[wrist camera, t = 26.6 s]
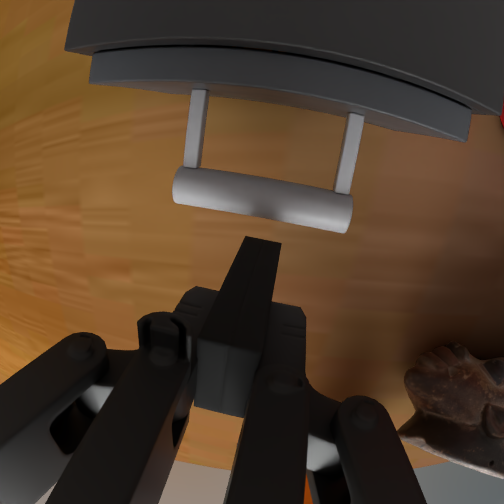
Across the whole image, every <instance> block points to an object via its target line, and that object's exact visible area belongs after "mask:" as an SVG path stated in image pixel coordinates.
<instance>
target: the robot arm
mask: <svg viewBox="0 0 504 504" xmlns="http://www.w3.org/2000/svg"><path fill="white" fill-rule="evenodd" d="M281 244H282V243H278V242H273V241H268V240H263V239H258V238H253V237H248V236H245V238H244V240H243V242H242V245H241V247H240V249H239V251H238V253H237V255H236V257H235V259H234V261H233V263H232V265H231V268H230V270H229V272H228V274H227V276H226V278H225V280H224V282H223V284H222V287H221V289H220V291H216V290H211V289H207V288H203V287H198V286H195V287H194V288H192V289H190V290H189V291H187V292H185V294H184V295H183V297H182V299H181V300H180V303H178V305H177V306H176V308H175V311H173V313H170V312H153V313H150V314H148V315H145V316H143V317H142V318H141V319H140V320H138V321H137V326H138V338H139V349H138V350H113V349H107V347H106V344H105V341H104V340H103V339H101V338H100V337H99V336H98V335H95V334H93V333H88V332H79V333H74V334H71V335H69V336H67V337H65V338H64V339H62V340H61V341H60V342H58V343H57V344H55V345H54V346H53V347H51V348H50V349H48V350H47V351H46V352H44V353H43V354H41V355H40V356H39V357H37V358H36V359H35V360H33V361H32V362H30V363H29V364H28V365H26V366H25V367H24V368H22V369H21V370H19V371H18V372H17V373H15V374H14V375H13V376H11V377H10V378H9V379H7V380H6V381H5V382H3V383H2V384H1V385H0V504H35V503H36V502H37V501H38V500H39V499H40V498H41V497H42V496H43V495H44V494H45V493H46V492H47V491H48V490H49V489H50V488H51V487H52V486H53V485H54V484H55V483H56V482H57V481H58V482H57V484H56V485H55V487H54V489H53V491H52V492H51V494H50V496H49V498H48V500H47V501H46V503H45V504H158V503H159V500H160V498H161V495H162V492H163V489H164V487H165V484H166V481H167V479H168V475H169V473H170V470H171V468H172V465H173V463H174V460H175V457H176V454H177V452H178V449H179V446H180V444H181V441H182V438H183V436H184V433H185V430H186V427H187V425H188V422H189V413H190V408H191V405H192V402H193V400H194V406H196V407H200V408H203V409H207V410H211V411H215V412H219V413H223V414H228V415H232V416H237V417H241V418H244V420H243V425H242V428H241V432H240V436H239V440H238V443H237V449H236V453H235V457H234V462H233V466H232V470H231V474H230V478H229V482H228V486H227V490H226V494H225V498H224V503H223V504H304V494H305V482H306V474H307V479H308V484H309V488H310V493H311V497H312V502H313V504H427V503H426V500H425V498H424V495H423V492H422V490H421V488H420V485H419V483H418V480H417V478H416V475H415V473H414V470H413V468H412V466H411V463H410V461H409V459H408V456H407V454H406V452H405V449H404V447H403V445H402V442H401V440H400V438H399V436H398V433H397V431H396V429H395V427H394V424H393V422H392V420H391V418H390V416H389V413H388V412H387V410H386V409H385V408H384V406H383V405H382V404H380V403H379V402H378V401H376V400H375V399H372V398H370V397H367V396H357V395H356V396H352V397H349V398H347V399H346V400H344V401H343V402H342V403H341V402H338V401H335V400H333V399H331V398H328V397H326V396H324V395H322V394H320V393H319V392H317V391H316V390H315V389H314V388H313V387H312V386H311V385H310V384H309V381H308V379H307V377H306V373H305V362H306V316H305V314H304V313H303V311H302V309H301V308H300V307H297V306H291V305H286V304H282V303H277V302H272V295H273V290H274V284H275V279H276V273H277V267H278V261H279V255H280V250H281Z"/></svg>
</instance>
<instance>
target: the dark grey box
mask: <svg viewBox="0 0 504 504" xmlns="http://www.w3.org/2000/svg"><path fill="white" fill-rule="evenodd" d="M181 45H222V46H237V47H249V48H259V49H268V50H276V51H283V52H290V53H296V54H302V55H308V56H313V57H319V58H324V59H328V60H333V61H338V62H342V63H346V64H350V65H354V66H358V67H362V68H366V69H369V70H373V71H377V72H380V73H383V74H387V75H390V76H393V77H396V78H399V80H400V81H403V82H406V83H409V84H412V85H415V86H417V87H420V88H423V89H426V90H428V91H431V92H433V93H436V94H438V95H441V96H443V97H446V98H448V99H451V100H453V101H455V102H458V103H460V104H462V105H464V106H466V107H469V108H470V109H471V110H472V114H481V115H486V114H487V115H497V116H501V115H502V110H503V101H504V0H75V3H74V6H73V10H72V15H71V19H70V23H69V28H68V33H67V38H66V43H65V51H68V52H74V53H80V54H83V55H89V56H93V53H95V52H101V51H109V50H119V49H129V48H143V47H165V46H181Z"/></svg>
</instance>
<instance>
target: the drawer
mask: <svg viewBox="0 0 504 504" xmlns="http://www.w3.org/2000/svg"><path fill="white" fill-rule="evenodd" d="M89 83H90V84H96V85H108V86H118V87H127V88H136V89H143V90H151V91H157V92H164V93H170V94H187V95H191V101H190V108H189V117H188V125H187V134H186V143H185V153H184V163H183V166H180V167H179V168H178V170H177V172H176V174H175V177H174V181H173V188H172V194H173V200H174V202H176V203H178V204H185V205H191V206H197V207H203V208H209V209H215V210H221V211H227V212H233V213H238V214H244V215H250V216H255V217H261V218H266V219H272V220H277V221H282V222H288V223H293V224H298V225H303V226H309V227H314V228H319V229H324V230H329V231H334V232H339V233H345V232H346V231H347V229H348V227H349V224H350V221H351V217H352V211H353V198H352V195H350V194H349V192H350V187H351V183H352V178H353V174H354V169H355V164H356V159H357V155H358V150H359V145H360V140H361V134H362V129H363V124H364V122H366V123H370V124H373V125H377V126H381V127H384V128H388V129H391V130H394V131H401V132H408V133H415V134H421V135H427V136H433V137H439V138H444V139H449V140H455V141H459V142H466V141H467V138H468V133H469V127H470V121H471V114H472V110H471V109H470V108H469V107H466V106H464V105H462V104H460V103H458V102H455V101H453V100H451V99H448V98H446V97H443V96H441V95H438V94H436V93H433V92H431V91H428V90H426V89H423V88H420V87H417V86H415V85H412V84H409V83H406V82H403V81H400V80H399V78H396V77H393V76H390V75H387V74H383V73H380V72H377V71H373V70H369V69H366V68H362V67H358V66H354V65H350V64H346V63H342V62H338V61H333V60H328V59H324V58H319V57H313V56H308V55H302V54H296V53H290V52H280V53H278V52H276V51H275V52H270V51H261V50H252V49H241V48H231V47H230V46H222V45H181V46H165V47H143V48H129V49H119V50H109V51H101V52H95V53H93V57H92V63H91V70H90V77H89ZM209 96H215V97H226V98H236V99H244V100H252V101H260V102H267V103H274V104H280V105H286V106H292V107H298V108H303V109H309V110H314V111H319V112H323V113H328V114H333V115H337V116H342V117H346V118H347V119H346V124H345V130H344V135H343V141H342V146H341V151H340V156H339V161H338V166H337V171H336V176H335V181H334V185H333V190H334V191H332V190H328V189H323V188H318V187H313V186H308V185H303V184H298V183H293V182H287V181H282V180H276V179H271V178H265V177H259V176H253V175H247V174H241V173H234V172H228V171H221V170H214V169H207V168H199V167H200V166H201V158H202V149H203V141H204V132H205V124H206V117H207V109H208V102H209Z"/></svg>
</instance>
